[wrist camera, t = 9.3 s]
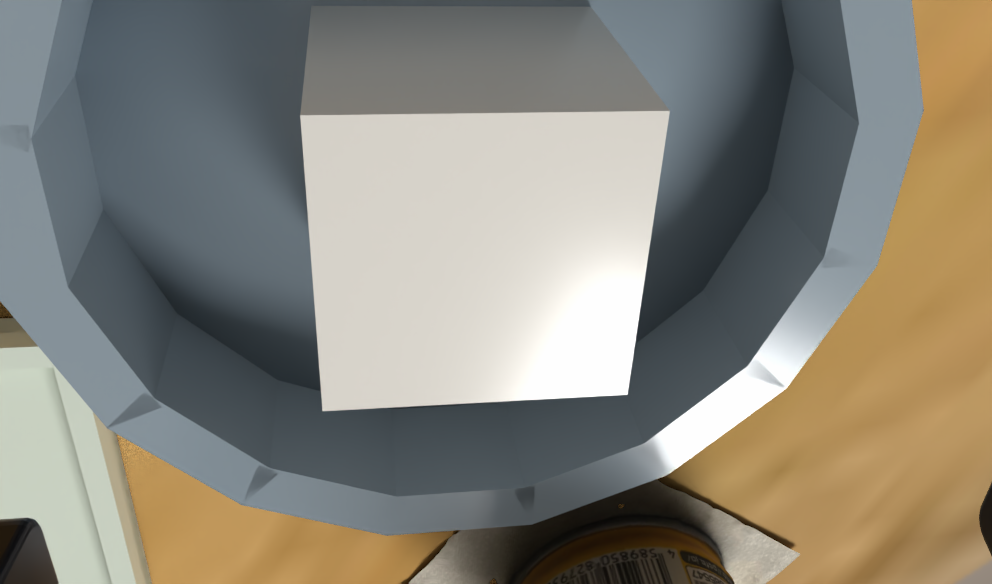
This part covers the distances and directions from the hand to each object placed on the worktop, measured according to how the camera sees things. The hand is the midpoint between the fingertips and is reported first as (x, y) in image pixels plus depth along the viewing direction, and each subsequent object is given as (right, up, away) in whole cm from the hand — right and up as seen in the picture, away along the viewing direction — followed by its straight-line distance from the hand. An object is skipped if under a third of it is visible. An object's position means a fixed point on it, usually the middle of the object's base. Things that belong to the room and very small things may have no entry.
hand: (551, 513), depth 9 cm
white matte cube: (-1, +5, +8) cm, 9 cm away
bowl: (-1, +5, +8) cm, 10 cm away
